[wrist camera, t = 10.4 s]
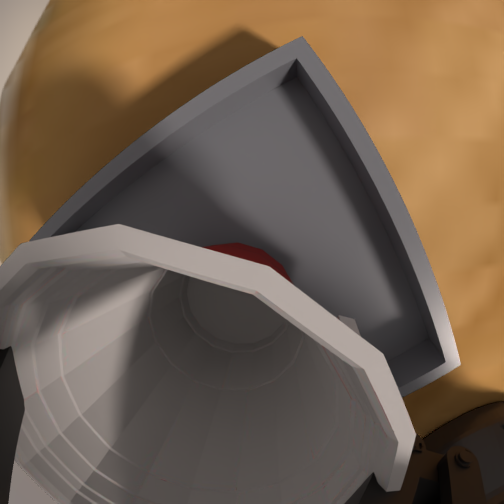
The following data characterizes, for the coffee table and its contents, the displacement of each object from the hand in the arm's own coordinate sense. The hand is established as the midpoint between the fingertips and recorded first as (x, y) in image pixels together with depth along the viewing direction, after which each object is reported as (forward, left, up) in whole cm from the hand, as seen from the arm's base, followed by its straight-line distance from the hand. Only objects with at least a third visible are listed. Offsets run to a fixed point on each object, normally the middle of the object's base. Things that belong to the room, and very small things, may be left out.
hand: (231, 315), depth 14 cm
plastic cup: (0, 0, -3) cm, 3 cm away
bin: (0, 0, -4) cm, 4 cm away
